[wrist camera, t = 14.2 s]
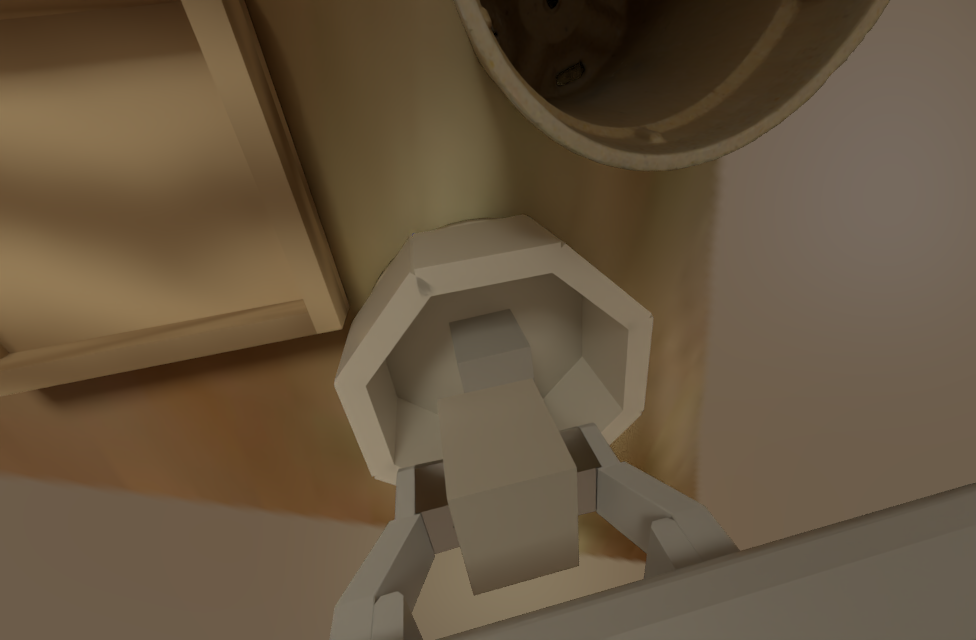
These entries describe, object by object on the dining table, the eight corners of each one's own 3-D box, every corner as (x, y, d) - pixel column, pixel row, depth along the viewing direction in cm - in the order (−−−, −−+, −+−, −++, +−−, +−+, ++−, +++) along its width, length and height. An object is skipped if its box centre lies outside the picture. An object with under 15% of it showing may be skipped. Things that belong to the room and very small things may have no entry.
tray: (-319, 10, 10) (-496, -19, 8) (230, -41, 11) (194, -74, 9) (14, 370, 16) (-41, 404, 14) (349, 306, 17) (342, 329, 15)
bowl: (328, 243, 16) (294, 291, 11) (595, 197, 17) (663, 223, 12) (396, 443, 21) (393, 528, 17) (592, 398, 23) (638, 466, 18)
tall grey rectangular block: (448, 322, 18) (456, 363, 14) (509, 308, 18) (530, 346, 15) (464, 387, 19) (474, 435, 16) (519, 374, 20) (539, 419, 17)
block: (437, 399, 11) (447, 500, 8) (532, 378, 11) (576, 467, 8) (458, 486, 13) (473, 595, 10) (540, 466, 13) (579, 565, 10)
